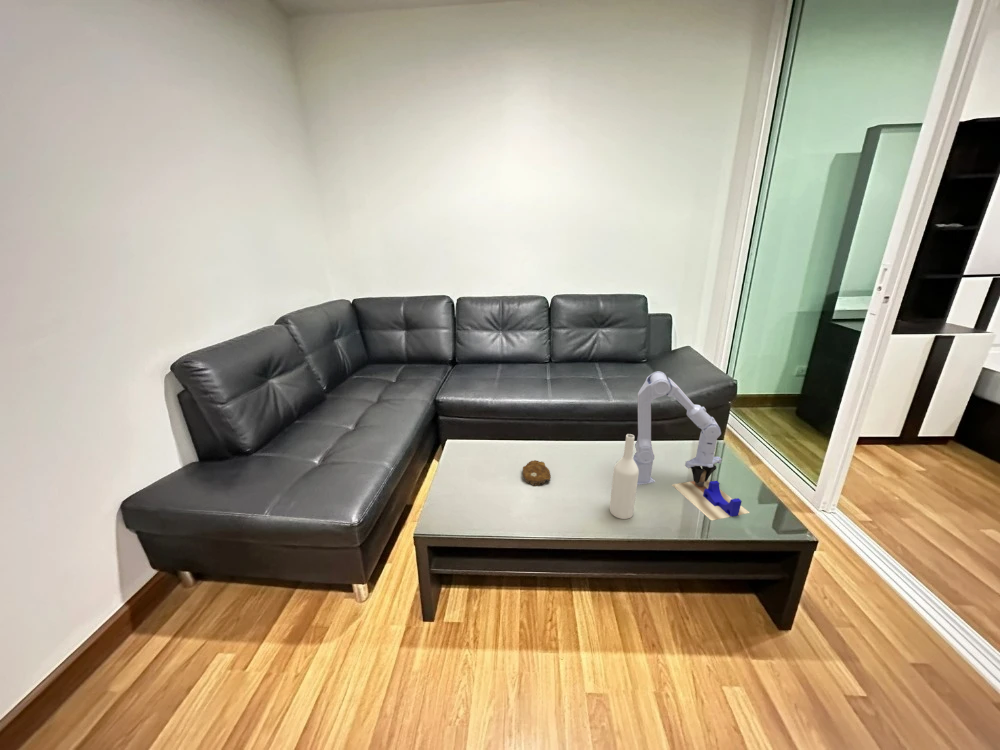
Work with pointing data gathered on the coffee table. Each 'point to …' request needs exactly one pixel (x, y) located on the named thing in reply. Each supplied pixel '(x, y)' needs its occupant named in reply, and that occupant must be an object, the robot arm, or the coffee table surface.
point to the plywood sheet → (704, 500)
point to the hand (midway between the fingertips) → (699, 480)
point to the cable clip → (721, 499)
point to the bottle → (624, 483)
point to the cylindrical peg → (701, 479)
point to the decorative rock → (536, 473)
